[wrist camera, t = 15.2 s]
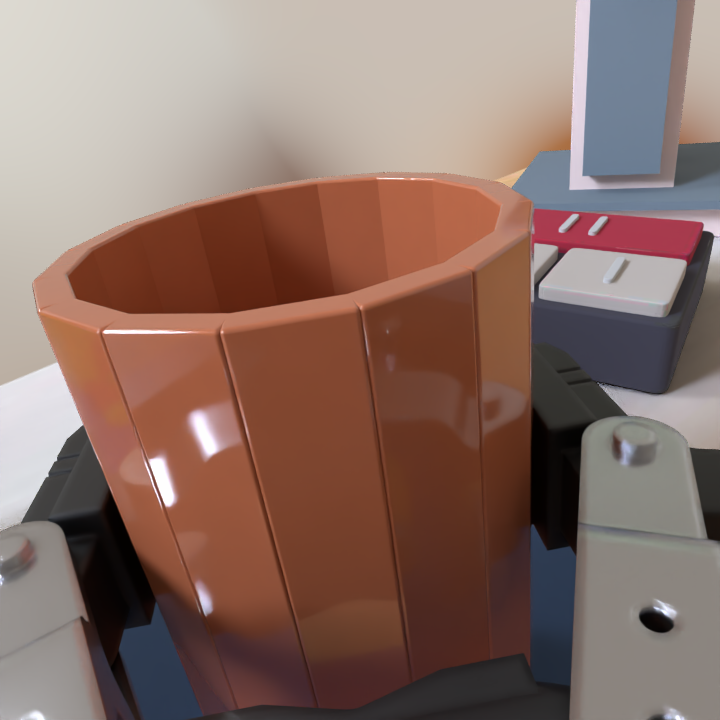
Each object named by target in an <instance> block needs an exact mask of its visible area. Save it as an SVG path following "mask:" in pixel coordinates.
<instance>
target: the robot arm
mask: <svg viewBox="0 0 720 720" xmlns="http://www.w3.org/2000/svg"><path fill="white" fill-rule="evenodd" d="M48 474H49V477H46V478H45V480H44V482H43V484H42V486H41V488H40V489H39V491H38V493H37V495H36V497H35V498H34V500H33V502H32V504H31V506H30V507H29V509H28V511H27V513H26V515H25V517H24V518H23V520H22V522H21V524H19V525H15V526H13V527H10V528H8V529H5V530H3V531H1V532H0V720H144V717H143V713H142V710H141V707H140V704H139V701H138V698H137V695H136V692H135V689H134V686H133V683H132V680H131V677H130V674H129V671H128V668H127V665H126V661H125V659H124V657H123V655H122V653H121V651H120V649H119V647H120V643H121V639H122V635H123V632H124V630H125V629H130V628H135V627H140V626H146V625H151V621H152V617H153V612H154V608H155V604H156V600H155V598H154V595H153V593H152V590H151V588H150V585H149V583H148V580H147V578H146V576H145V573H144V571H143V568H142V566H141V563H140V561H139V559H138V556H137V554H136V551H135V549H134V546H133V544H132V542H131V539H130V537H129V534H128V532H127V529H126V527H125V525H124V522H123V520H122V517H121V515H120V512H119V510H118V508H117V505H116V503H115V500H114V498H113V495H112V493H111V491H110V488H109V486H108V483H107V481H106V478H105V476H104V474H103V471H102V469H101V466H100V464H99V461H98V459H97V457H96V454H95V452H94V449H93V447H92V444H91V442H90V440H89V437H88V435H87V432H86V430H85V427H84V425H83V426H81V427H80V428H79V429H78V430H77V431H76V432H75V433H74V434H72V435H71V436H70V437H69V438H68V439H67V440H66V442H65V444H64V446H63V448H62V449H61V451H60V453H59V455H58V457H57V461H56V462H54V464H53V466H52V468H51V469H50V471H49V473H48ZM533 525H534V527H535V529H536V531H537V532H538V534H539V536H540V538H541V540H542V542H543V544H544V545H545V547H546V549H547V551H549V550H554V549H559V548H565V547H571V549H572V550H573V552H574V554H575V556H576V572H575V594H574V616H573V638H572V660H571V681H570V686H567V685H562V684H556V683H551V682H540V681H535V679H534V677H533V674H532V672H531V669H530V667H529V664H528V662H527V660H526V657H525V655H524V653H521V654H516V655H511V656H506V657H501V658H496V659H491V660H485V661H480V662H475V663H470V664H465V665H460V666H455V667H450V668H445V669H440V670H438V671H436V672H433V673H431V674H429V675H427V676H425V677H423V678H421V679H419V680H417V681H414V682H412V683H410V684H408V685H406V686H404V687H402V688H400V689H398V690H395V691H393V692H391V693H389V694H387V695H385V696H383V697H381V698H379V699H377V700H374V701H372V702H370V703H368V704H366V705H364V706H361V707H359V708H355V709H345V710H344V709H327V708H311V707H295V706H279V705H263V704H262V705H257V706H252V707H247V708H242V709H237V710H231V711H226V712H221V713H216V714H211V715H206V716H201V717H196V718H191V719H186V720H720V450H716V449H696V448H689V445H688V442H687V441H686V439H685V438H684V437H683V436H682V435H681V434H680V433H679V432H678V431H676V430H675V429H673V428H672V427H670V426H668V425H666V424H664V423H661V422H659V421H656V420H652V419H648V418H643V417H637V416H627V414H626V413H625V412H624V411H623V410H622V409H621V408H620V407H619V406H618V405H617V404H616V403H615V402H614V401H613V400H612V399H611V398H610V397H609V396H608V395H607V394H606V393H605V391H604V390H603V389H602V388H601V387H600V386H599V385H598V384H597V383H596V382H595V381H592V378H591V377H590V376H589V375H588V374H587V373H586V372H585V371H584V370H583V369H582V370H581V366H580V365H579V364H578V363H577V362H576V361H575V360H574V359H573V358H572V357H571V356H570V355H569V354H568V353H567V352H565V351H563V350H561V349H558V348H556V347H554V346H552V345H550V344H548V343H545V342H544V343H538V344H534V406H533Z"/></svg>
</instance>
